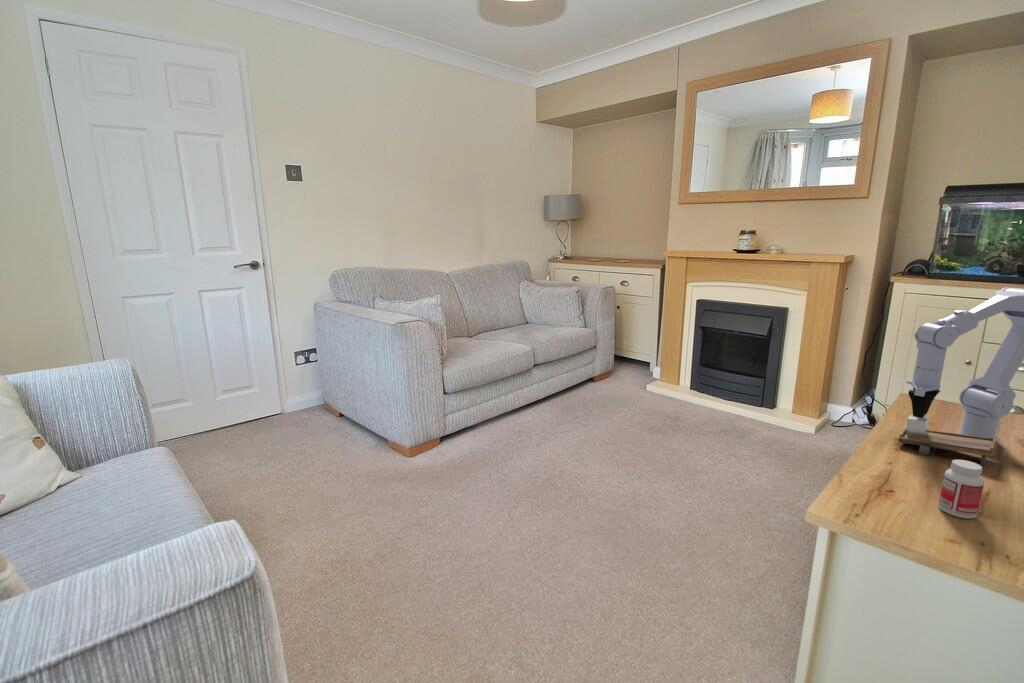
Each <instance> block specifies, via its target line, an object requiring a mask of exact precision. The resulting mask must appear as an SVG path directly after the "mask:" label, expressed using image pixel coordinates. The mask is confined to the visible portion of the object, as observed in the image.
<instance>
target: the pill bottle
mask: <svg viewBox="0 0 1024 683" xmlns="http://www.w3.org/2000/svg"><path fill="white" fill-rule="evenodd" d="M982 472H983V466H980V464H978V463H977V462H972V461H970V460H966V459H965V460H964V459H953V460H951V464H950V468H948V469H946V470H945V472H944V475H943V480H942V486H941V490H940V495H939V500H938V508H939V509H940V510H941V511H943V512H945V513H947V514H948V515H951V516H953V517H957V518H960V519H965V520H966V519H969V520H971V519H975V518H976V517H977V516H978V513H979V508H980V504H981V500H982V494H983V490H984V486H985V481H984V478H983V477H982V476H981V474H982Z"/></svg>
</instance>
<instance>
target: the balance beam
mask: <svg viewBox="0 0 1024 683" xmlns="http://www.w3.org/2000/svg"><path fill="white" fill-rule="evenodd" d="M997 440H998V437H997V436H996V437H994V438H987V437H979V436H971V435H964V434H959V433H957V432H956V433H953V432H948V431H941V430H932V429H928V436H927V437H926V439H924V438H917V437H910V436H907V426H905V427H904V428H903V430H902V431H901V432H900V433H899V436H898V443H901V444H902V443H906V444H909V445H913V446H915V445H916V446H920V444H924V445H928V446H931V447H933V448H936V449H940V450H946V451H952V452H960V453H967V454H974V455H980V456H982V455H986V457H993V456H994V453H995V451H996V448H997V446H998V442H997Z"/></svg>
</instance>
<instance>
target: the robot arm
mask: <svg viewBox="0 0 1024 683" xmlns="http://www.w3.org/2000/svg"><path fill="white" fill-rule="evenodd" d="M1000 313H1002V314H1003V315H1004V316H1005V317H1006V318H1007V319H1008V320H1010V322H1011V325H1012V326H1011V327H1010V329H1009V331H1008V332H1007V334H1006V336H1005V337H1004V340H1003V341H1002V343H1001V345H1000V346H999V348H998V350H997V351H996V353H995V355H994V356H993V359H992V361H991V362H990V364H989V366H988V367H987V369H986V371H985V372H984V375H982V376H981V377H978V378H975V379H971V380H970V382H969V383H968V384H967V386H966V387H964V388H963V389H962V391H960V394H959V397H958V398H959V402H960V404H961V405H962V410H964V415H963V418H962V419H963V420H962V423H961V427H960V432H959V433H958V434H964V435H971V436H979V437H987V438H994V437H997V433H998V430H999V425H1000V420H1001V418H1002V419H1003V418H1004V417H1005V416H1007V415H1008V414H1009V413H1011V411H1012V409H1013V406H1014V405H1013V404H1014V400H1015V398H1016V396H1017V394H1016V392H1015V391H1014V390H1013V388H1012V387H1011V386H1010V384H1011V381H1012V380H1013V379H1014V376H1015V375H1016V373H1017V371H1018V370H1019V368H1020V366H1021V365H1022V363H1023V362H1024V288H1019V287H1017V288H1016V287H1013V286H1005V287H1003V288H1002V289H1000V290H997V291H995V293H994V295H993V297H991V298H989V299H987V300H986V301H985V300H984V302H982V303H980V304H979V305H977V306H975V307H973V308H971V309H970V310H966V309H965V310H964V309H961V310H960V309H956V310H954V311H953V313H952V314H949V315H948V316H945V317H943V318H940V319H937V321H935V322H933V323H932V322H928V323H924V324H922V325H920V326H919V327H918V328H917V331H916V332H914V338H915V341H916V348H917V354H916V361H915V366H914V371H913V376H912V379H907V380H906V384H909V385H911V386H912V389H913V390H912V389H909V390H908V396H909V398H910V401H911V406H912V408H911V410H912V416H914V417H919V418H923V417H925V415H927V414H928V412H929V410H930V407H931V406H932V403H933V402H934V399H935V398H936V396H937V395H938V394H939V393H940V392H941V390H940V389H941V381H942V380H941V379H942V375H943V370H944V365H945V360H946V355H947V350H948V347H949V348H950V347H951V346H952V345H953V344H954V343H955V341H956V340H957V339H959V337H960V336H962V335H964V334H966V333H968V332H971V331H972V330H974V329H977V327H978V326H979V322H982V321H984V320H987V319H989V318H992V317H994V316H995V315H998V314H1000ZM998 441H999V440H998V439H997V443H998Z"/></svg>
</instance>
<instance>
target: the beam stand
mask: <svg viewBox="0 0 1024 683" xmlns="http://www.w3.org/2000/svg"><path fill="white" fill-rule="evenodd" d="M906 444H907V443H901V445H902V446H906ZM936 450H937V448H933V447H931V446H928V445H924V444H920V445H919V448H918V449H917V451H916V452H915V454H917V455H920V456H924V457H927V458H931V457H932V456H933V454H934V453H935V451H936ZM986 459H987V456H986V455H981V458H980V462H979V465H980V466H981V467H984V465H985V462H986Z"/></svg>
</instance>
